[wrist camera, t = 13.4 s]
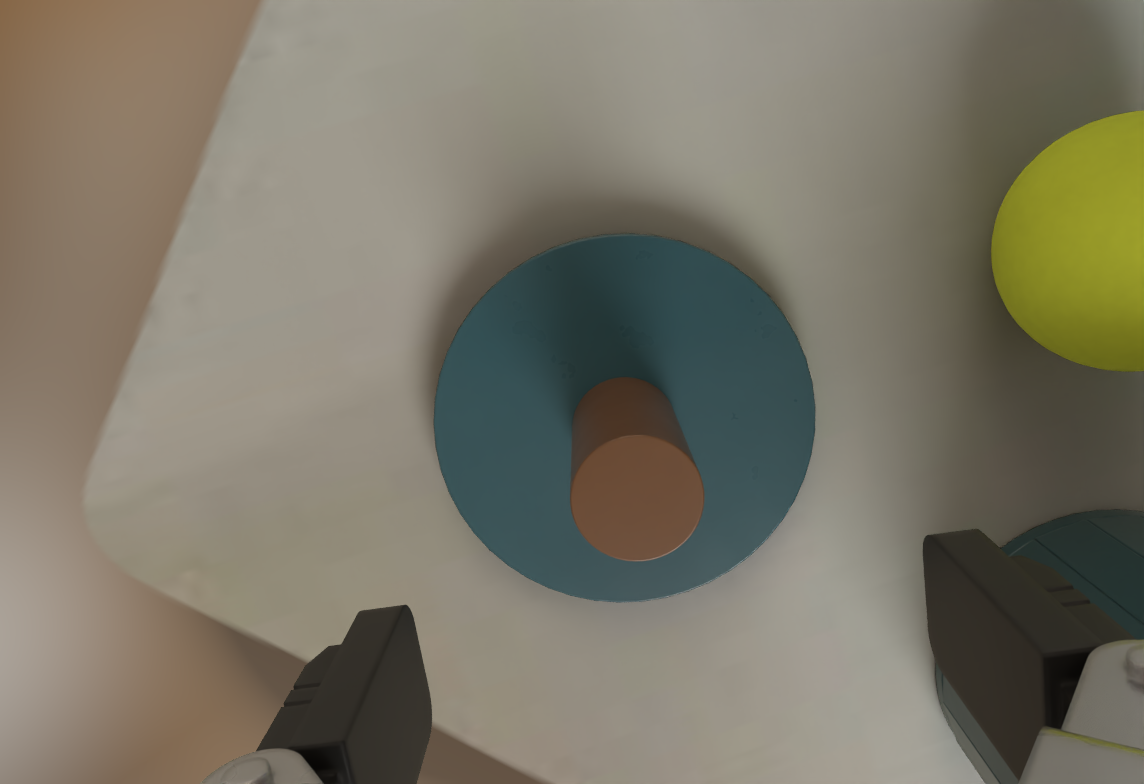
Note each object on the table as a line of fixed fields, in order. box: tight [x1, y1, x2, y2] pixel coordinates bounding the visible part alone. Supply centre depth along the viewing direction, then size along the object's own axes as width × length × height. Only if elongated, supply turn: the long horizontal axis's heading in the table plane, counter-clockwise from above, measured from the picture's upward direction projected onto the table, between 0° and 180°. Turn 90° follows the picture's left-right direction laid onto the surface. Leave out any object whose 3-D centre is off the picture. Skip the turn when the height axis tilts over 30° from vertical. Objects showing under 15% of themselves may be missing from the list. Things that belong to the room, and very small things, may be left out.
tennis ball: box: [991, 111, 1144, 372], centre depth 22 cm, size 6×6×6 cm
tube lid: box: [434, 233, 815, 602], centre depth 23 cm, size 11×11×7 cm
